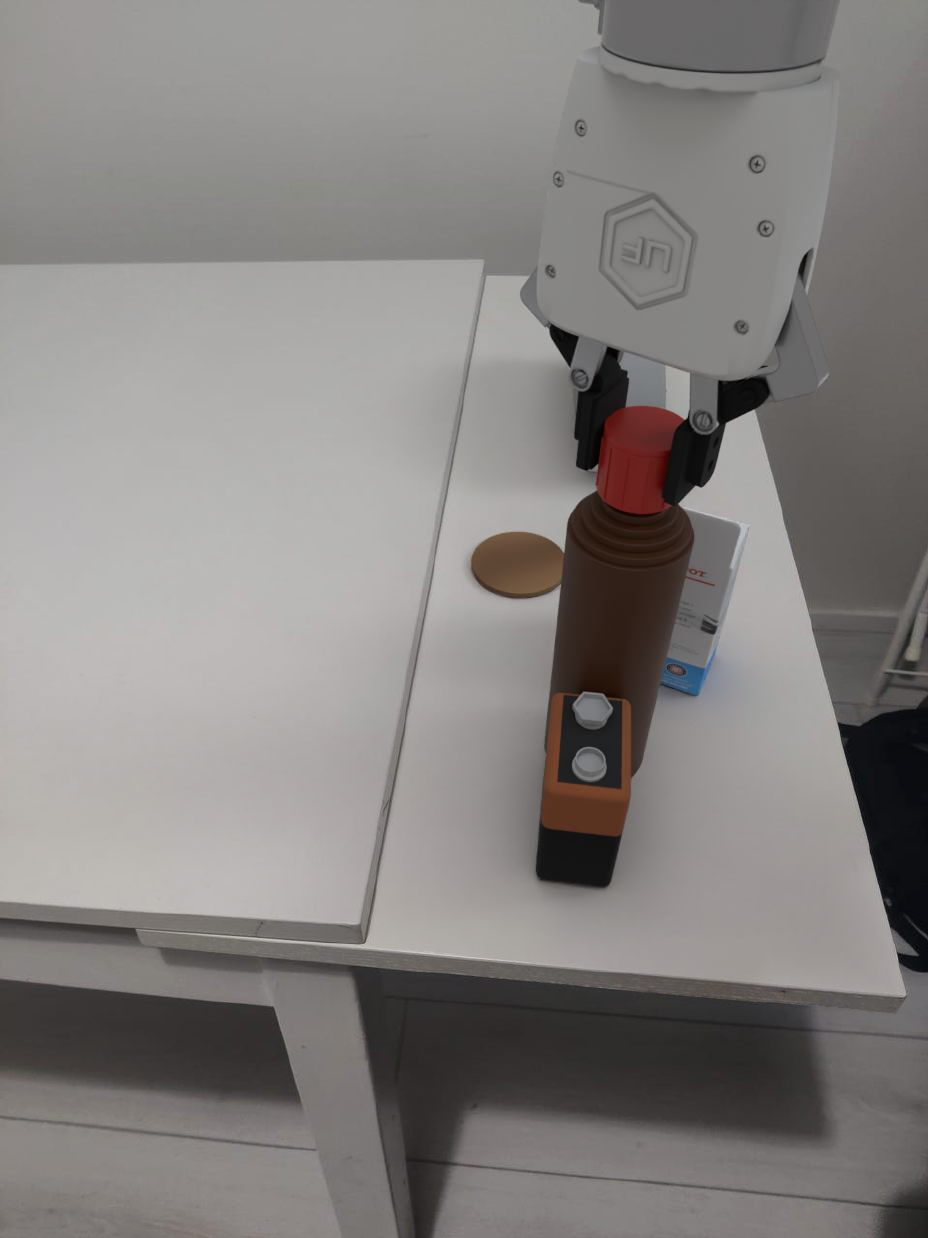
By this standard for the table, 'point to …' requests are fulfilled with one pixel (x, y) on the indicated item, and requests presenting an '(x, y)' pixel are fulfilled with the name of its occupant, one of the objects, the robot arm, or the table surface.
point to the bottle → (619, 606)
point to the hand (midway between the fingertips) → (639, 470)
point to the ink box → (704, 599)
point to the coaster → (518, 564)
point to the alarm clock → (641, 384)
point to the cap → (636, 458)
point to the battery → (584, 788)
